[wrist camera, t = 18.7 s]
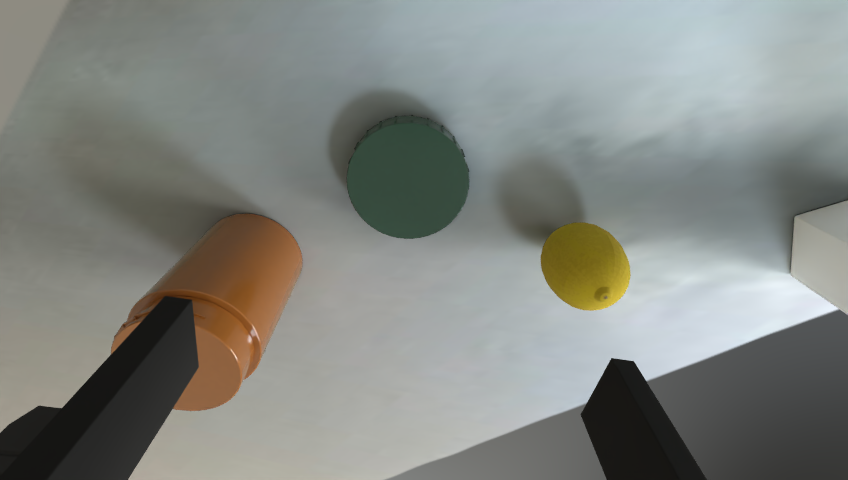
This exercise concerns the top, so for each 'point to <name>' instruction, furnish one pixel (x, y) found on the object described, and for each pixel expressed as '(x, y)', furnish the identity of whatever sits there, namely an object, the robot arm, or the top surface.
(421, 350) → the top surface
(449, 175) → the jar lid
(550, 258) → the lemon
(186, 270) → the jam jar
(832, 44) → the top surface
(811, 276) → the milk
